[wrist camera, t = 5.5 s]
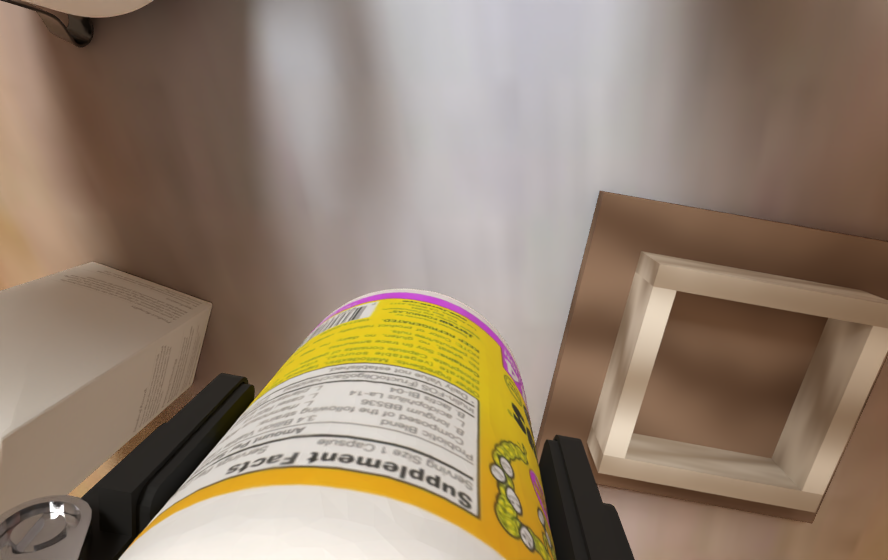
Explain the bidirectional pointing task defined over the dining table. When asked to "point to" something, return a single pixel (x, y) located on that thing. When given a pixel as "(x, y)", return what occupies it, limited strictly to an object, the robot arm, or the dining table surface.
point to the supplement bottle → (372, 449)
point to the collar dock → (718, 354)
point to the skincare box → (86, 372)
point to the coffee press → (78, 15)
